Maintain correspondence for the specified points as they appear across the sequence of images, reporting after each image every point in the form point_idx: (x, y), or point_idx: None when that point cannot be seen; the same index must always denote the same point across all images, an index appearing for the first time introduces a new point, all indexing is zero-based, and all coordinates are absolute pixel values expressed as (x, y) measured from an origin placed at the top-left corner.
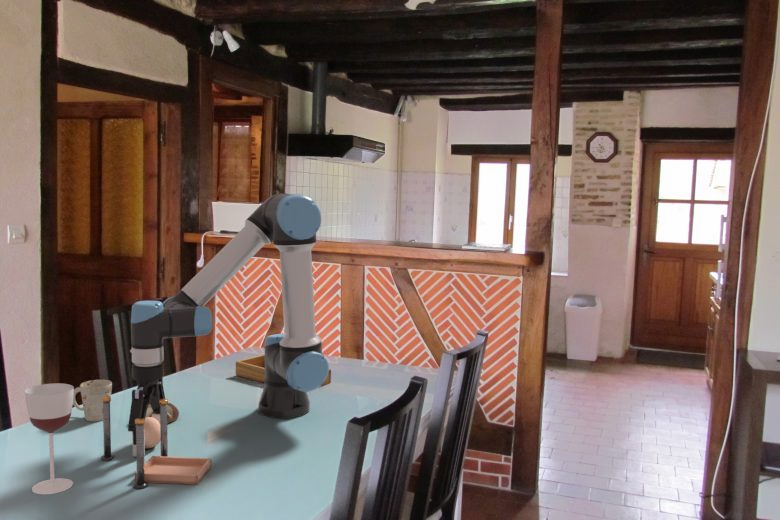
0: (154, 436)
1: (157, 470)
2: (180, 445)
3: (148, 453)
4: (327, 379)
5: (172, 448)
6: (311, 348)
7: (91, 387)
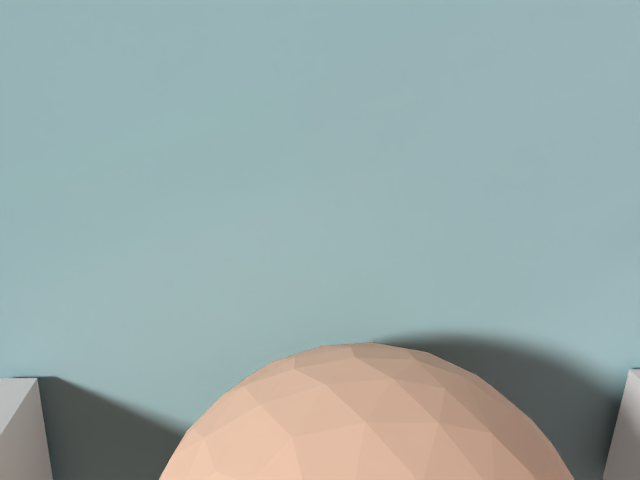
0: (548, 454)
1: None
2: (209, 30)
3: (526, 358)
4: None
5: (346, 117)
6: None
7: None
